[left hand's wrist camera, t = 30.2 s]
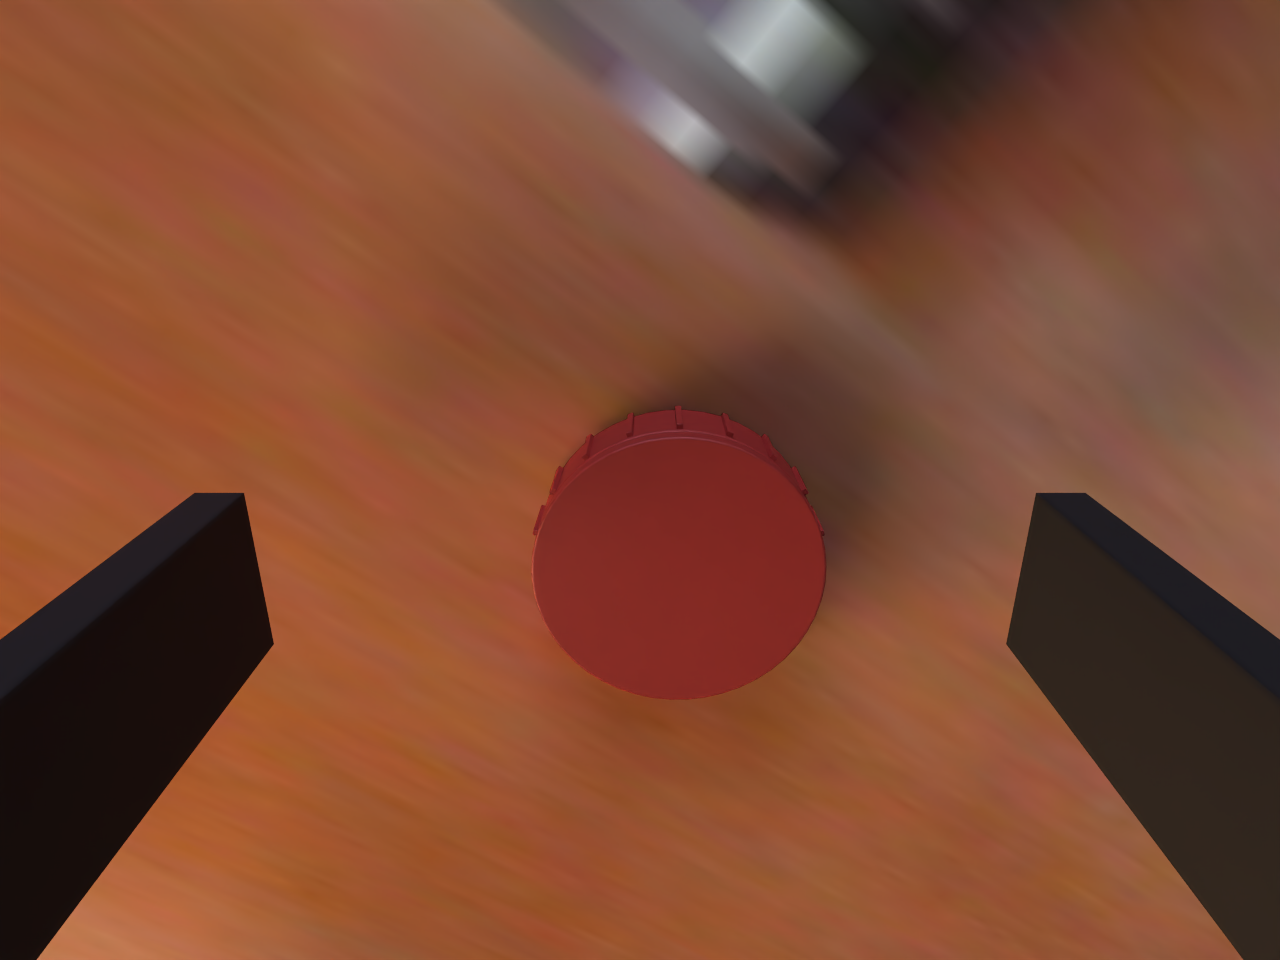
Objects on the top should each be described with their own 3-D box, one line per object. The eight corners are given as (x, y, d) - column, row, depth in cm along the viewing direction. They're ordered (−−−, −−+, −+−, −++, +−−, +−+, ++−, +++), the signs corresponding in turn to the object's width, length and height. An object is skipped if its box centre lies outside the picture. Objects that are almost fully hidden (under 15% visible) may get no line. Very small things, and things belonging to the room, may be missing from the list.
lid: (557, 661, 17) (547, 712, 15) (521, 416, 15) (506, 445, 13) (813, 644, 16) (830, 695, 15) (810, 393, 15) (829, 420, 13)
